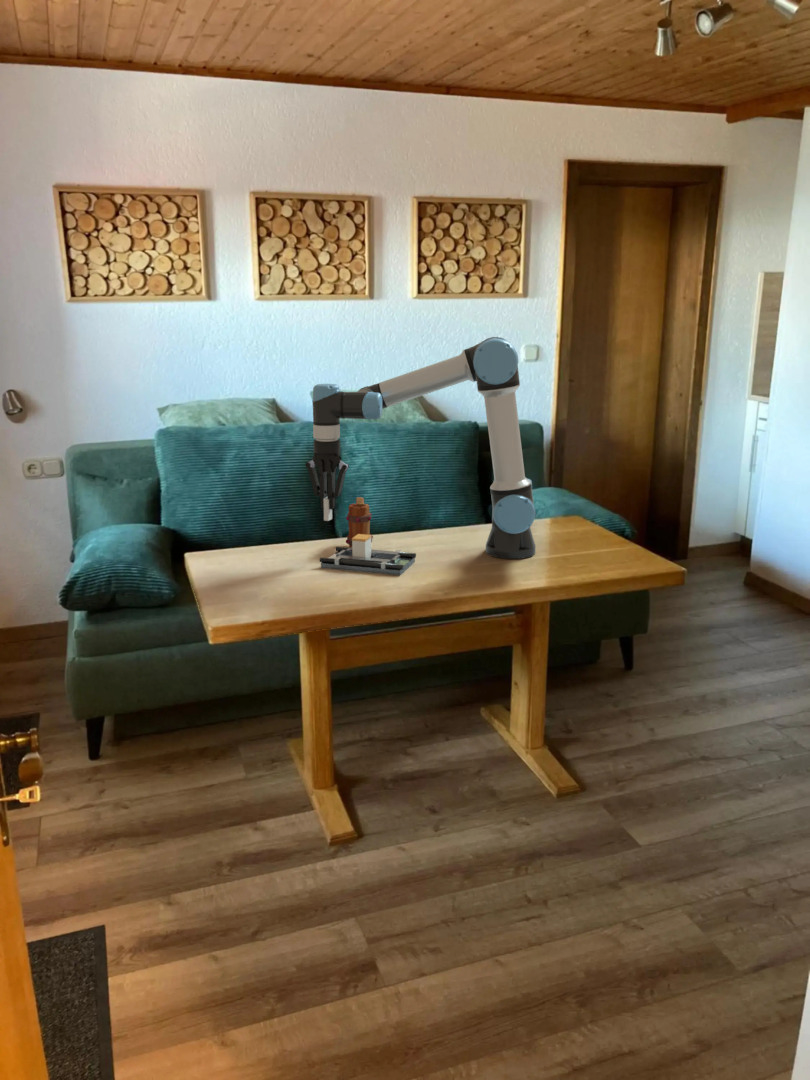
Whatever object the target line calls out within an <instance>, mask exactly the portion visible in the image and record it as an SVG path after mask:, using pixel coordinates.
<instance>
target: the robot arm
mask: <svg viewBox="0 0 810 1080" xmlns="http://www.w3.org/2000/svg"><path fill="white" fill-rule="evenodd" d="M466 381H470V382H473V383H475V382H476V386H477V387H476V389H477V392H478V393H479V394H481V395H482V396H483V399H484V406H485V407H484V408H485V416H486V423H487V429H488V430H487V431H488V438H489V446H490V455H491V463H492V470H493V477H494V478H493V482H492V484H491V485H490V487H489V490H490V495H491V496H490V497H491V504H492V505H491V506H492V507H491V511H492V512H491V517H492V518H491V528H490V532H489V534H488V537H487V540H486V542H485V553H486V554H487V555H489V556H491V557H494V558H498V559H500V558H501V559H509V560H511V559H512V560H516V559H526V558H530V557H532V556H535V555H536V543H535V540H534V536H533V532H532V529H531V526H532V525H533V523H534V521H535V519H536V515H537V514H536V513H537V512H536V507H535V503H534V494H533V481H532V480H531V479H530V478H527V477H526V475H525V473H526V472H525V466H524V458H523V457H524V455H523V449H522V447H523V446H522V439H521V431H520V423H519V415H518V413H519V412H518V406H517V405H518V404H517V395H516V391H517V390H518V389H519V387H520V385H521V382H520V373H519V356H518V352H517V350H516V348H515V347H514V345H513V344H512V343H511V342H510V341H508V340H507V339H505V338H502V337H500V336H491V337H488V338H486V339H483V341H481V342H478V344H475V345H473V346H471V347H468V348H465V349H463V350H462V352H461V353H460V354H458V355H456V356H452V357H450V358H447V359H445V360H442V361H439V362H435V363H433V364H430V365H427V366H424V367H421V368H418V369H416V370H412V371H409V372H406V373H404V374H400V375H398V376H396V377H395V376H394V377H392V378H389V379H386V380H383V381H380V382H379V383H375V384H372V385H369V386H363V387H361V388H359V389H358V390H357V391H341V389H340V386H339V385H338V384H336V383H319V384H315V385H314V386H313V388H312V402H311V403H312V418H313V419H312V420H313V421H312V427H313V429H312V430H313V434H312V435H313V436H312V437H313V439H314V440H313V456H312V459H311V460H310V461H307V462H305V464H304V465H305V467H306V469H307V470H308V473H309V478H310V482H311V487H312V490H313V495H314V496H318V497H319V498H320V508H321V509H323V521H325V522H329V521H331V520H333V509H335V507H336V505H335V504H336V499H335V498H338V497H339V496H341V495H342V491H343V486H344V483H345V477H346V473H347V471H348V469H349V467H350V464H349V463H345V462H344V461H342V457H341V441H340V440H339V439H340V437H341V433H340V432H341V431H340V430H341V429H340V428H341V427H340V425H341V424H340V423H341V421H340V420H341V419H342V420H344V419H349V420H350V419H352V420H368V421H370V420H379V419H381V417H382V416H383V410H384V409H387V408H388V407H389V408H390V407H392V406H394V405H398V404H400V403H401V404H402V403H403V402H407V401H410V400H412V399H416V398H419V397H422V396H425V395H428V394H431V393H434V392H436V391H440V390H443V389H445V388H449V387H452V386H454V385H455V386H456V385H459V384H461V383H464V382H466ZM316 467H317V469H318V473H317V469H316ZM337 469H339V471H338V475H337V479H336V473H337V472H336V470H337ZM318 475H319V476H318Z"/></svg>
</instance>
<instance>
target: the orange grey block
mask: <svg viewBox="0 0 810 1080" xmlns="http://www.w3.org/2000/svg"><path fill="white" fill-rule="evenodd" d="M371 535H372V534H371ZM371 535H365V534H357V535H356V536H355V537H353V538H352V555H353V556H355V557H366V558H371V550H372V543H371Z"/></svg>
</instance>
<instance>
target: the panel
mask: <svg viewBox="0 0 810 1080" xmlns="http://www.w3.org/2000/svg"><path fill="white" fill-rule="evenodd" d="M335 551H336V552H335V553H333V554H331V555H330V556H329V557H321V556H320V557H319V563H320V568H321V569H326V570H337V571H338V570H339V571H345V572H347V571H348V572H356V573H358V572H359V573H366V574H367V573H369V574H370V573H371V574H376V575H377V574H378V575H379V574H380V575H387V576H388V575H390V576H397V577H398V576H399V577H400V576H402V574H403V573H405V572H406V570H408V569H409V568H410V567H411V566H412V565H413V564H414V563H415V562H416V558H417V553H416V552H404V551H401V550H400V549H397V550H395V551H393V550H382V549H381V550H380V549H371V558H366V557H355V556H353V555H352V547H351V548H349V547H348V546H347V547H345V546H336V547H335Z"/></svg>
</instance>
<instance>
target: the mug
mask: <svg viewBox="0 0 810 1080" xmlns="http://www.w3.org/2000/svg"><path fill="white" fill-rule="evenodd" d="M372 515H373V514H372V513H371V512H370V505H369V504H367V503H365V499H364V497H361V496H360V497H359V496H358V497H356V499H355V503H351V504H349V505H348V512H347V514H346V517H345V520H346V521H348V535H347V536H346V540H345V543H346V544H347V545H349V547H348V548H351V547H352V538H353V537H355V536H356V535H357V534H365V535H371V544H372V543H373V538H374V535H372V534H371V533H370V531H371V530H370V529H371V526H370V525H371V520H372Z"/></svg>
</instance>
